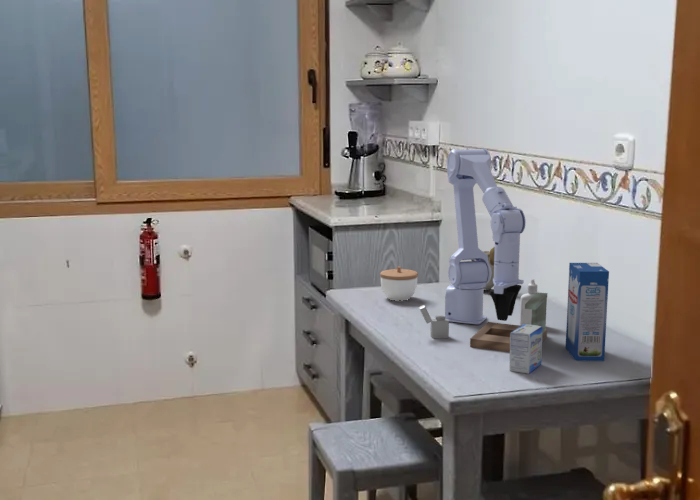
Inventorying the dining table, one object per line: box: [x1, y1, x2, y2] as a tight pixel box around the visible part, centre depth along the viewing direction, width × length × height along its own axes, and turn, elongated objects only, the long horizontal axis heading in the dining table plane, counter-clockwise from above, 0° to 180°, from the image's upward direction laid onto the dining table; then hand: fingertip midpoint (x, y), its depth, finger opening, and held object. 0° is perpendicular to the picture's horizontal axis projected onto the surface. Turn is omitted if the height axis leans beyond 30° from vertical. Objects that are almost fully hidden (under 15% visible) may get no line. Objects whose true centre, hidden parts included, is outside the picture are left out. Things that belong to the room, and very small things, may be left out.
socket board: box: [469, 291, 548, 353], centre depth 195 cm, size 14×16×11 cm
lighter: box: [418, 304, 450, 339], centre depth 199 cm, size 7×2×8 cm, turn 98°
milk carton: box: [565, 262, 610, 362], centre depth 185 cm, size 10×6×20 cm, turn 178°
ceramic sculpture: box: [470, 246, 495, 290], centre depth 249 cm, size 11×9×15 cm
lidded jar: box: [379, 266, 419, 302], centre depth 238 cm, size 11×11×9 cm
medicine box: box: [509, 324, 543, 375], centre depth 176 cm, size 8×4×9 cm, turn 148°
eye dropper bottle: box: [519, 278, 538, 326], centre depth 209 cm, size 4×6×12 cm
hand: (504, 317), depth 196 cm, fingers open, 4 cm apart
